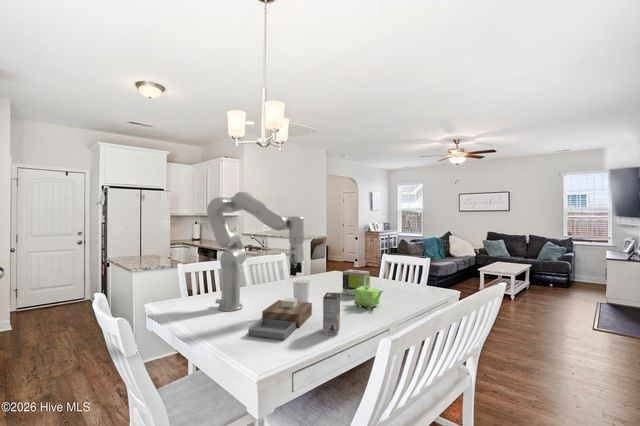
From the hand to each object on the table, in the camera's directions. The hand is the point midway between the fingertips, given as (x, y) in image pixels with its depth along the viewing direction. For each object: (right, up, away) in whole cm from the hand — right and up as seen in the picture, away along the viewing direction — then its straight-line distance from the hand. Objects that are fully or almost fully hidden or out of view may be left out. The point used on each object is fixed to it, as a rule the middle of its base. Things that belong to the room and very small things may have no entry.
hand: (296, 273), depth 170 cm
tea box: (+36, -21, +40) cm, 57 cm away
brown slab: (-3, -20, -11) cm, 23 cm away
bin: (-8, -20, -28) cm, 36 cm away
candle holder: (+1, -20, +21) cm, 30 cm away
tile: (-2, -14, -9) cm, 17 cm away
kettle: (+38, -21, +12) cm, 45 cm away
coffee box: (+17, -21, -26) cm, 38 cm away
